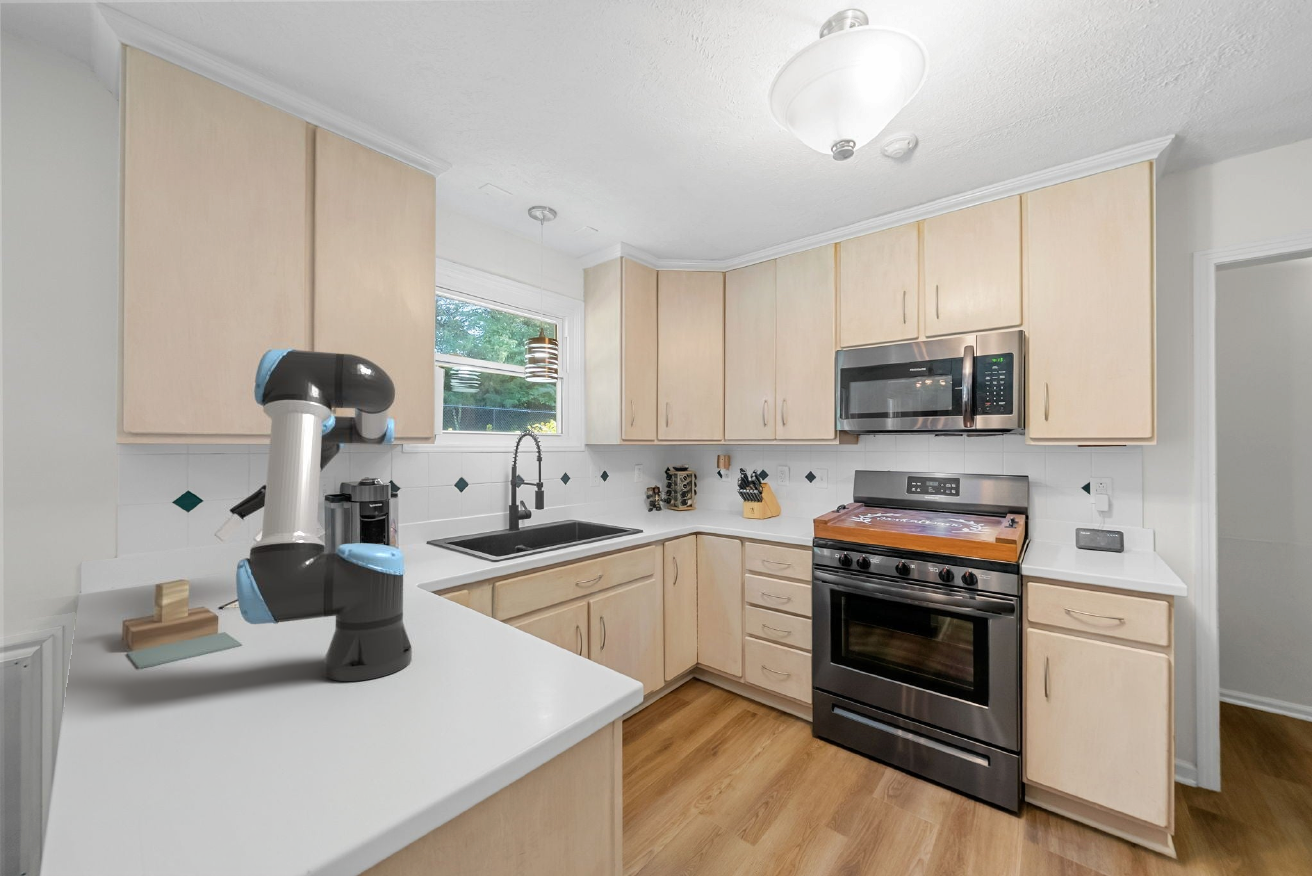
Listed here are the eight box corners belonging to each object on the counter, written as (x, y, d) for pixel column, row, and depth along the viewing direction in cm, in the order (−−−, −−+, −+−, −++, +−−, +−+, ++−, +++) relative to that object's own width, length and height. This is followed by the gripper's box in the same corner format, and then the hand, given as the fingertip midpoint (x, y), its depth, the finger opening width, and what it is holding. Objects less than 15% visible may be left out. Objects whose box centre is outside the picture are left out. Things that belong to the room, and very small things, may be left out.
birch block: (187, 615, 122) (188, 580, 123) (161, 622, 118) (163, 585, 118) (180, 614, 123) (181, 579, 123) (154, 621, 118) (155, 584, 119)
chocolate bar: (291, 589, 160) (256, 606, 142) (291, 592, 160) (255, 609, 142) (258, 589, 159) (218, 607, 141) (258, 593, 159) (218, 610, 141)
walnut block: (217, 633, 122) (218, 616, 122) (132, 651, 111) (133, 632, 111) (203, 623, 129) (203, 606, 130) (122, 638, 118) (122, 620, 119)
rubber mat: (241, 645, 115) (241, 643, 115) (138, 669, 102) (138, 666, 102) (224, 633, 122) (224, 631, 122) (126, 654, 110) (126, 652, 110)
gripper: (340, 486, 145) (285, 552, 130) (274, 482, 153) (214, 544, 138) (323, 467, 140) (263, 534, 125) (255, 464, 148) (191, 527, 133)
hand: (237, 539), depth 132 cm, fingers open, 13 cm apart
